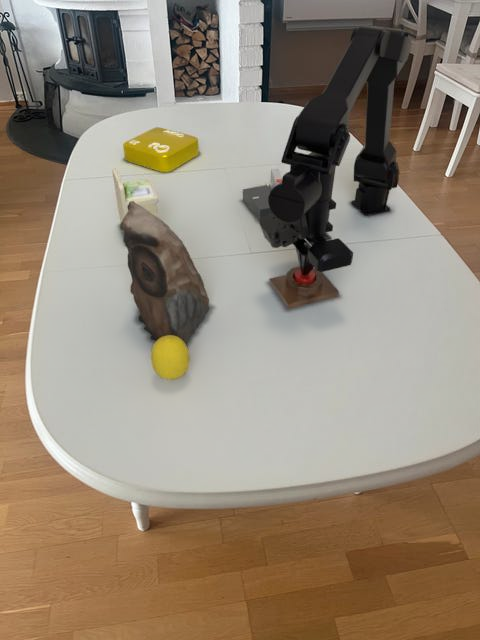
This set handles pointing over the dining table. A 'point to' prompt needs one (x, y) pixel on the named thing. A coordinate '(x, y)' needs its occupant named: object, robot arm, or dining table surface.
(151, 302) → the owl
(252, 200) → the plate
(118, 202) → the toy sink
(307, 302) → the button block
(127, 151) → the element tile
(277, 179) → the white card in stand
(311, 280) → the button
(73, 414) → the dining table surface
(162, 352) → the lemon
